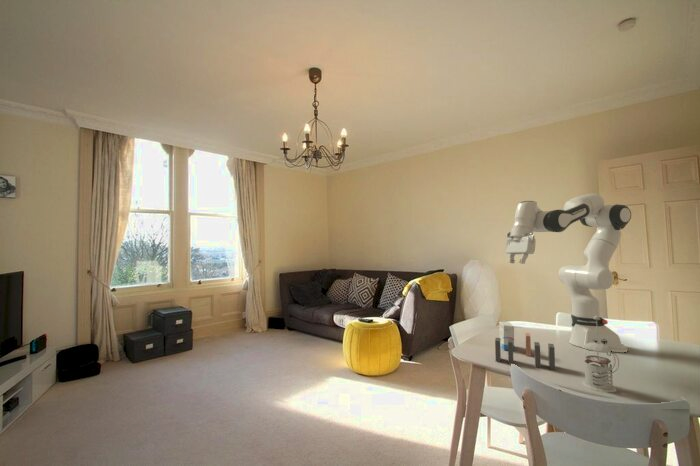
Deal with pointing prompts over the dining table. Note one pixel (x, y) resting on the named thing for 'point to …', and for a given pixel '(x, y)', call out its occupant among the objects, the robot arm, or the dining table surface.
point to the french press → (599, 368)
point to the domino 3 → (528, 345)
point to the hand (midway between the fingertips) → (516, 263)
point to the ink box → (506, 334)
